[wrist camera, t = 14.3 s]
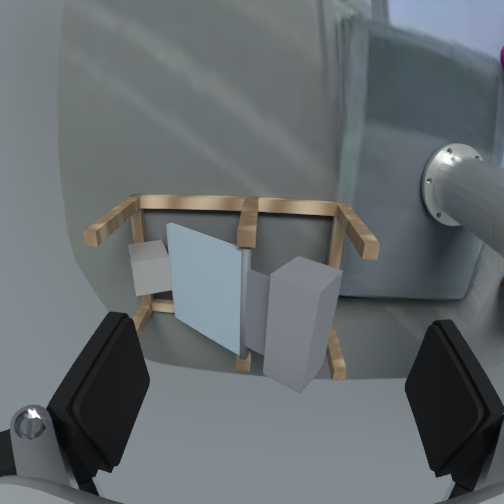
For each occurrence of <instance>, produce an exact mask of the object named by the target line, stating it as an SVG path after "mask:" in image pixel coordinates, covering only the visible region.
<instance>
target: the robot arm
mask: <svg viewBox="0 0 504 504" xmlns="http://www.w3.org/2000/svg"><path fill="white" fill-rule="evenodd" d="M447 150H448V151H447ZM427 179H428V181H427ZM422 197H423V200H424V204H425V206H426V208H427V210H428V212H429V213H430V214H431V215H432V217H434V218H435V219H436V220H437V221H439V222H440V223H442V224H444V225H447V226H459V225H462V226H463V227H465V228H466V229H467V230H469V231H470V232H471V233H473V234H474V235H475V236H477V237H478V238H479V239H481V240H482V241H483V242H485V243H486V244H487V245H488V246H490V247H491V248H492V249H493V250H495V251H496V252H497V253H499V254H500V255H501V256H502V257H504V169H503V168H500V167H498V166H495V165H492V164H490V163H487V162H484V161H483V159H482V157H481V156H480V155H479V153H478V152H477V151H476V150H474V149H473V148H472V147H470V146H468V145H465V144H461V143H451V144H446V145H445V146H443V147H441V148H439V149H438V150H437V151H436V152H435V153H434V154H433V155H432V156H431V158H430V159H429V161H428V163H427V165H426V167H425V170H424V173H423V178H422ZM149 383H150V377H149V373H148V370H147V367H146V364H145V360H144V357H143V353H142V350H141V346H140V343H139V339H138V335H137V331H136V327H135V324H134V320H133V319H132V318H129V316H128V314H126V313H119V312H109V313H108V314H107V315H106V317H105V318H104V320H103V321H102V322H101V324H100V326H99V327H98V328H97V330H96V331H95V333H94V334H93V335H92V337H91V338H90V340H89V341H88V343H87V344H86V346H85V347H84V349H83V350H82V352H81V353H80V355H79V356H78V358H77V359H76V361H75V362H74V364H73V365H72V367H71V368H70V370H69V371H68V373H67V375H66V376H65V378H64V379H63V381H62V383H61V384H60V386H59V387H58V389H57V390H56V392H55V394H54V395H53V397H52V399H51V400H50V402H49V405H48V406H47V408H46V409H45V408H44V407H41V406H40V405H27V406H25V407H23V408H21V409H20V410H18V411H17V412H16V413H15V414H14V416H13V417H12V420H11V422H10V429H8V430H6V431H3V432H0V504H123V503H119V502H116V501H113V500H109V499H106V498H105V497H104V495H103V493H102V491H101V489H100V487H99V484H98V482H97V480H96V477H95V476H96V474H97V471H98V469H100V470H103V471H106V472H109V473H111V472H112V470H113V467H114V466H118V464H119V463H120V461H121V458H122V455H123V453H124V450H125V447H126V444H127V442H128V439H129V436H130V434H131V431H132V428H133V426H134V423H135V421H136V418H137V415H138V413H139V410H140V408H141V405H142V402H143V400H144V397H145V395H146V392H147V390H148V387H149ZM405 392H406V395H407V398H408V401H409V403H410V406H411V409H412V412H413V415H414V418H415V421H416V424H417V427H418V431H419V434H420V437H421V440H422V443H423V446H424V450H425V453H426V457H427V460H428V464H429V467H430V469H431V470H432V471H434V472H435V475H436V477H441V476H444V475H448V474H450V473H451V476H452V481H451V483H450V486H449V487H448V490H447V492H446V494H445V496H444V498H443V500H442V502H438V503H435V504H504V414H503V413H504V406H503V404H502V402H501V400H500V398H499V396H498V395H497V393H496V391H495V389H494V387H493V385H492V384H491V382H490V380H489V378H488V377H487V375H486V373H485V372H484V370H483V368H482V367H481V365H480V363H479V362H478V360H477V358H476V357H475V355H474V353H473V352H472V350H471V349H470V347H469V345H468V344H467V342H466V341H465V339H464V338H463V336H462V335H461V333H460V332H459V330H458V329H457V327H456V326H455V324H454V323H453V321H452V320H449V319H448V320H436V321H434V322H433V323H432V325H430V326H429V327H428V329H427V331H426V334H425V337H424V339H423V342H422V344H421V347H420V350H419V352H418V354H417V357H416V359H415V362H414V364H413V366H412V369H411V371H410V373H409V376H408V378H407V380H406V383H405Z"/></svg>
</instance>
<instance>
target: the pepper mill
mask: <svg viewBox="0 0 504 504" xmlns="http://www.w3.org/2000/svg"><path fill="white" fill-rule="evenodd" d="M501 60H502V64H503V67H504V47H503V49H502V51H501Z"/></svg>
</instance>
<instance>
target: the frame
mask: <svg viewBox="0 0 504 504" xmlns="http://www.w3.org/2000/svg"><path fill="white" fill-rule="evenodd" d="M144 208H152V209H200V210H230V211H242V212H241V216H240V221H239V225H238V229H237V247H254V248H255V247H256V233H257V218H258V212H275V213H294V214H311V215H326V216H334V217H333V224H332V232H331V239H330V246H329V253H328V260H327V266H330V267H333V268H336V269H339V266H340V260H341V254H342V248H343V242H344V235H345V232H346V233H347V235H348V236H349V238H350V240H351V241H352V243H353V244H354V246H355V248H356V249H357V251H358V253H359V254H360V256H361V258H362V259H377V258H378V253H379V248H380V243H379V242H378V241H377V240H376V238H375V237H374V236H373V235H372V233H371V232H370V231H369V230H368V228H367V227H366V226H365V225H364V223H363V222H362V221H361V220H360V218H359V217H358V216H357V215H356V214H355V212H354V211H353V210H352V209H351V208H350V206H349V205H348V204H347V203H341V202H328V201H314V200H298V199H281V198H261V197H237V196H203V195H131V196H130V197H129V198H127V199H126V200H124V201H123V202H122V203H120V204H119V205H117V206H116V207H115V208H113V209H112V210H111V211H109V212H108V213H106V214H105V215H104V216H102V217H101V218H100V219H98V220H97V221H96V222H94V223H93V224H92V225H90V226H89V227H88V228H87V229H85V230H84V231H83V235H84V241H85V246H99V245H100V244H101V243H102V242H103V241H104V240H105V239H106V238H107V237H108V236H109V235H111V234H112V233H113V232H114V231H115V230H116V229H117V228H118V227H119V226H121V225H122V224H123V223H124V222H125V221H126V220H127V219H129V218H130V217H131V224H132V233H133V242H134V244H135V243H142V242H147V241H146V231H145V220H144ZM141 297H142V303H141V305H140V307H139V308H138V310H137V312H136V314H135V315H134V317H133V320H134V324H135V327H136V331H137V335H138V339H139V338H140V336H141V334H142V332H143V330H144V327H145V325H146V323H147V321H148V319H149V317H150V315H151V313H152V311H160V312H171V313H175V311H174V302H173V300H166V299H154V297H153V294H147V295H141ZM326 354H327V359H328V364H329V368H330V373H331V378H332V380H344V379H345V376H346V373H347V370H346V366H345V363H344V359H343V355H342V351H341V347H340V344H339V340H338V336H337V333H336V329H335V326H334V322H333V323H332V328H331V332H330V337H329V341H328V345H327V349H326ZM250 364H251V349H250V348H248V356H247V359H240V357H239V355H238V354H237V355H236V371H250Z"/></svg>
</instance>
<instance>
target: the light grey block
mask: <svg viewBox="0 0 504 504" xmlns="http://www.w3.org/2000/svg"><path fill="white" fill-rule="evenodd" d="M128 249H129V256H130V263H131V270H132V276H133V281H134V286H135V291H136V296H141V295H147V294H153V293H158V292H164V291H170V290H172V282H171V272H170V261H169V255H168V253H167V251H166V249H165V246H164V244H163V242H162V240H155V241H148V242H142V243H135V244H128Z"/></svg>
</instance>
